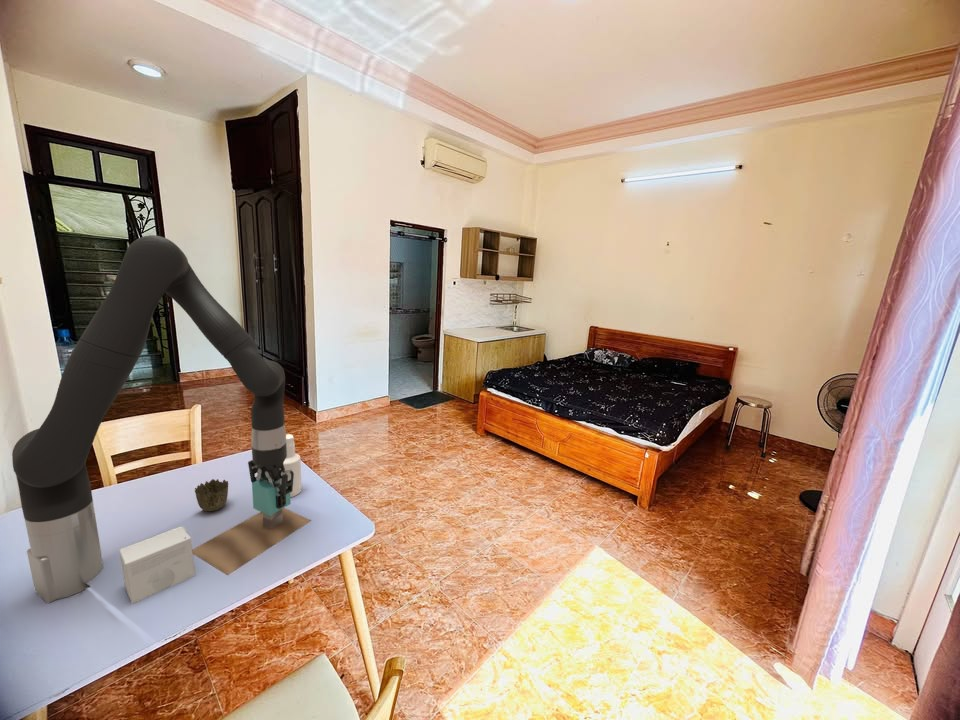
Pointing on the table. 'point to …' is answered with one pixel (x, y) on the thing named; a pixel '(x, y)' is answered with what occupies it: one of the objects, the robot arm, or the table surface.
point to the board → (249, 539)
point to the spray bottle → (293, 464)
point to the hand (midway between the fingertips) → (272, 502)
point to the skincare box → (157, 563)
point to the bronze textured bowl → (212, 494)
